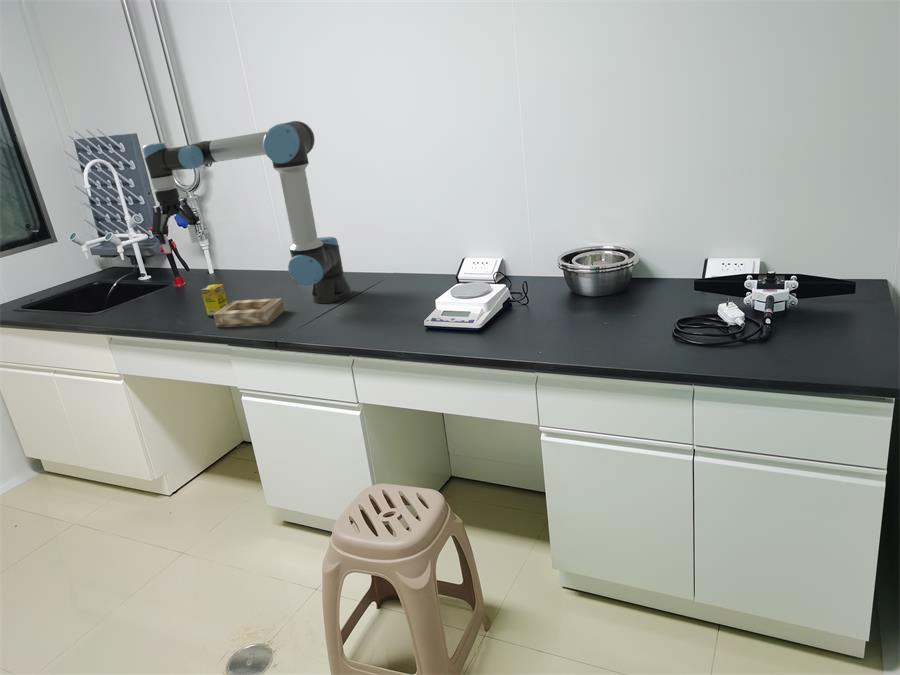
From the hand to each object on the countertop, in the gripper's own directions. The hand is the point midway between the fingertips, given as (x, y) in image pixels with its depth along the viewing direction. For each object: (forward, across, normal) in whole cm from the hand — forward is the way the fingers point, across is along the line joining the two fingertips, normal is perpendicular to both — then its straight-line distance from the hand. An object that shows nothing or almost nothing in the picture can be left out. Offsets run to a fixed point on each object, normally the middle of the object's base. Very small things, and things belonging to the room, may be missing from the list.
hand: (182, 247), depth 235 cm
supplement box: (+27, -2, +7) cm, 28 cm away
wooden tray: (+26, +1, +25) cm, 37 cm away
